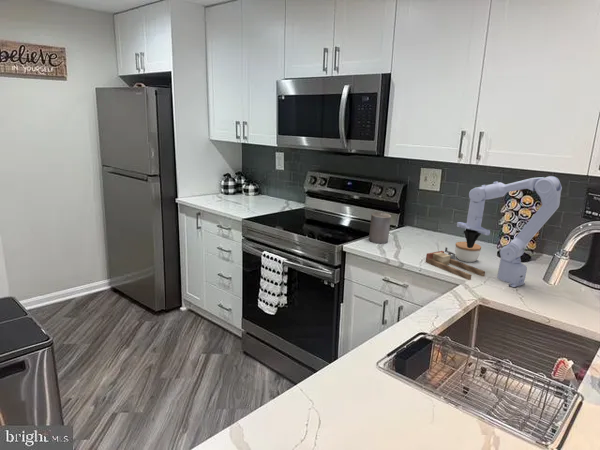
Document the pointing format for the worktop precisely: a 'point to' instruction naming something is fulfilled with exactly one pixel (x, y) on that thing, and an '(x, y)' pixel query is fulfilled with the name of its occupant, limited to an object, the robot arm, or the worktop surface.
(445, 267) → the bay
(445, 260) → the tan wooden block
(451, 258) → the winch
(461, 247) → the lidded jar
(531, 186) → the robot arm
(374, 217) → the pillar candle
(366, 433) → the worktop surface
